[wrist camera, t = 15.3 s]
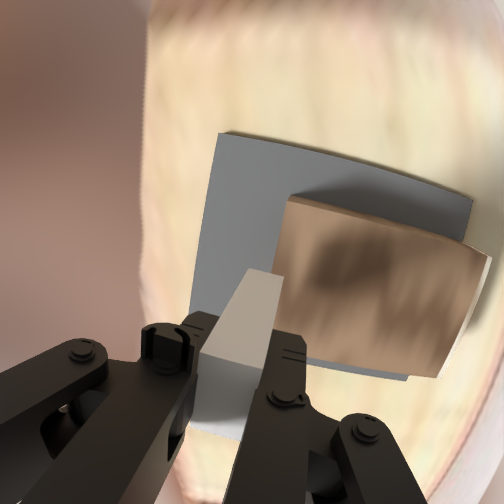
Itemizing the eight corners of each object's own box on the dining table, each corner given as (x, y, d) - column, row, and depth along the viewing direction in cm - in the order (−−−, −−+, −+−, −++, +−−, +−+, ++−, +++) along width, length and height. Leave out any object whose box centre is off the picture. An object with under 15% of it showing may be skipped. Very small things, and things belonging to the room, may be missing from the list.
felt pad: (221, 133, 19) (218, 132, 19) (468, 199, 17) (473, 200, 17) (188, 329, 23) (186, 333, 22) (404, 376, 21) (405, 381, 21)
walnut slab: (286, 200, 15) (492, 257, 14) (290, 194, 19) (463, 241, 18) (253, 344, 17) (441, 378, 16) (263, 314, 21) (423, 347, 20)
